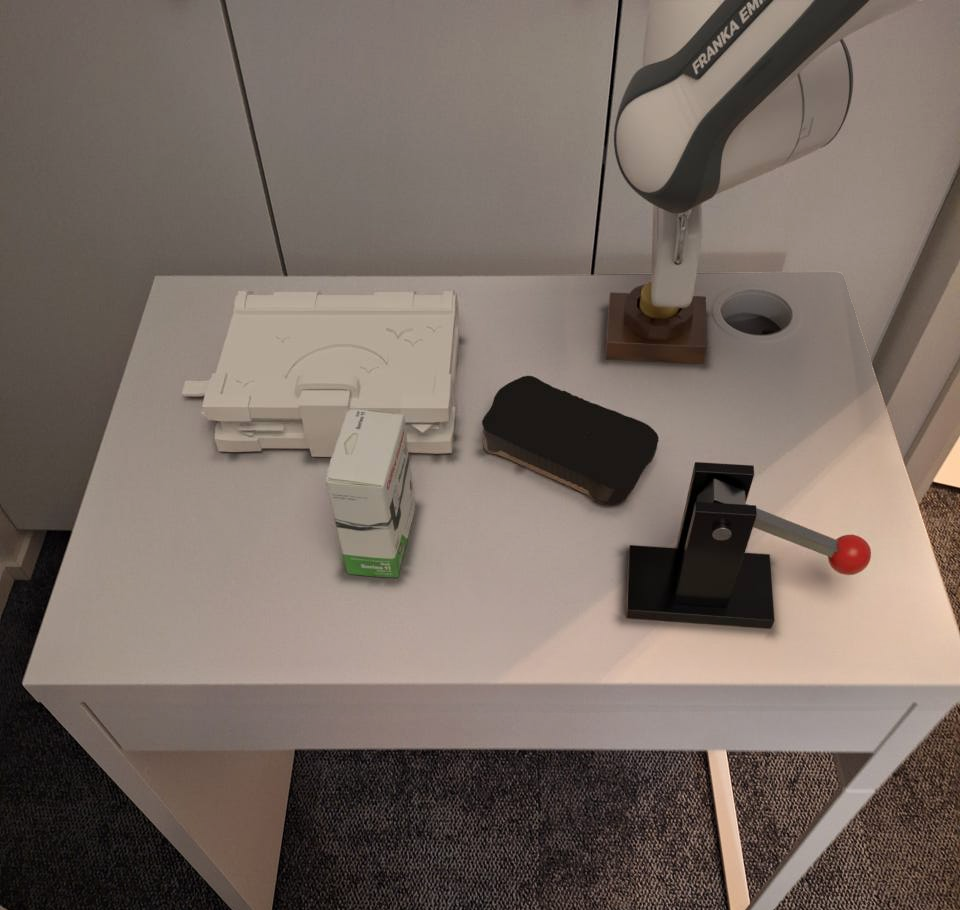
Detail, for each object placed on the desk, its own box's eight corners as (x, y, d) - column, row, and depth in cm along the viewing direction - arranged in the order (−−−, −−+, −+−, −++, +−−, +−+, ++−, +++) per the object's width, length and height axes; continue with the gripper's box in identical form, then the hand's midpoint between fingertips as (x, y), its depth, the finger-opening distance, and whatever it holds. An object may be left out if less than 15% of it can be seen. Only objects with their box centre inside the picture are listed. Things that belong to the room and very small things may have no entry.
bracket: (767, 562, 82) (804, 458, 72) (771, 629, 79) (811, 529, 68) (628, 553, 83) (644, 449, 73) (625, 618, 80) (643, 518, 69)
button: (679, 295, 97) (681, 280, 95) (679, 320, 95) (681, 305, 93) (639, 293, 97) (641, 278, 96) (639, 318, 95) (640, 304, 94)
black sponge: (663, 460, 89) (668, 432, 86) (619, 518, 86) (623, 490, 83) (518, 397, 95) (518, 368, 92) (470, 449, 91) (468, 420, 88)
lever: (849, 556, 78) (877, 534, 75) (853, 587, 76) (882, 566, 73) (693, 494, 74) (717, 469, 71) (693, 526, 72) (718, 501, 69)
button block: (702, 313, 101) (709, 281, 97) (703, 364, 96) (710, 332, 93) (608, 309, 102) (611, 277, 98) (605, 359, 97) (608, 327, 94)
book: (206, 330, 102) (186, 268, 96) (466, 330, 100) (462, 267, 94) (166, 462, 91) (140, 402, 85) (455, 464, 90) (451, 403, 84)
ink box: (399, 580, 83) (383, 487, 73) (344, 574, 83) (321, 481, 73) (418, 505, 87) (405, 408, 77) (366, 500, 88) (347, 403, 78)
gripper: (724, 222, 77) (698, 358, 88) (718, 91, 88) (695, 228, 99) (645, 219, 77) (629, 355, 89) (649, 90, 88) (635, 226, 100)
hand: (664, 287), depth 94 cm, fingers closed
